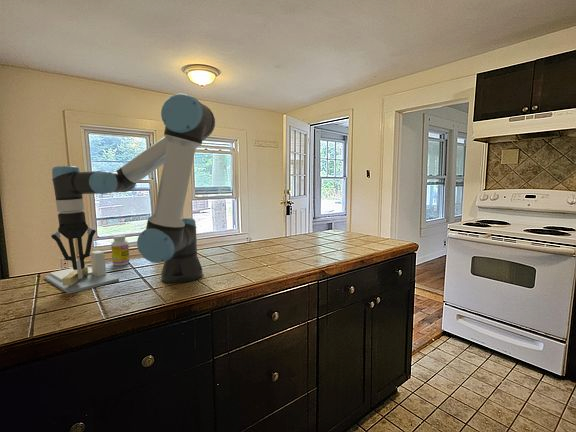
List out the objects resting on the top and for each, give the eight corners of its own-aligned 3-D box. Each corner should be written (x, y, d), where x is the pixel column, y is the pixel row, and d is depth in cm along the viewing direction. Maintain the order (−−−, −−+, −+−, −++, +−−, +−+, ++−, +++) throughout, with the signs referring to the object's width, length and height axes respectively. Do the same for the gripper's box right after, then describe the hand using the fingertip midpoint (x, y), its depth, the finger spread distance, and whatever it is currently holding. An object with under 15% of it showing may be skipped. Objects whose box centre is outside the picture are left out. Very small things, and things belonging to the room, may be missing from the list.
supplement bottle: (122, 266, 131) (120, 237, 129) (109, 265, 132) (106, 237, 130) (133, 262, 137) (131, 234, 136) (120, 261, 139) (118, 234, 137)
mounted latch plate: (119, 280, 112) (117, 254, 111) (68, 294, 99) (65, 264, 98) (90, 268, 128) (88, 245, 127) (44, 278, 115) (41, 253, 114)
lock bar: (78, 273, 114) (77, 266, 114) (89, 272, 115) (89, 266, 115) (60, 286, 101) (59, 278, 100) (74, 285, 102) (73, 277, 101)
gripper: (91, 209, 109) (99, 271, 113) (47, 212, 102) (57, 279, 105) (94, 210, 104) (102, 276, 107) (47, 214, 96) (58, 285, 99)
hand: (80, 277), depth 106 cm, fingers closed
